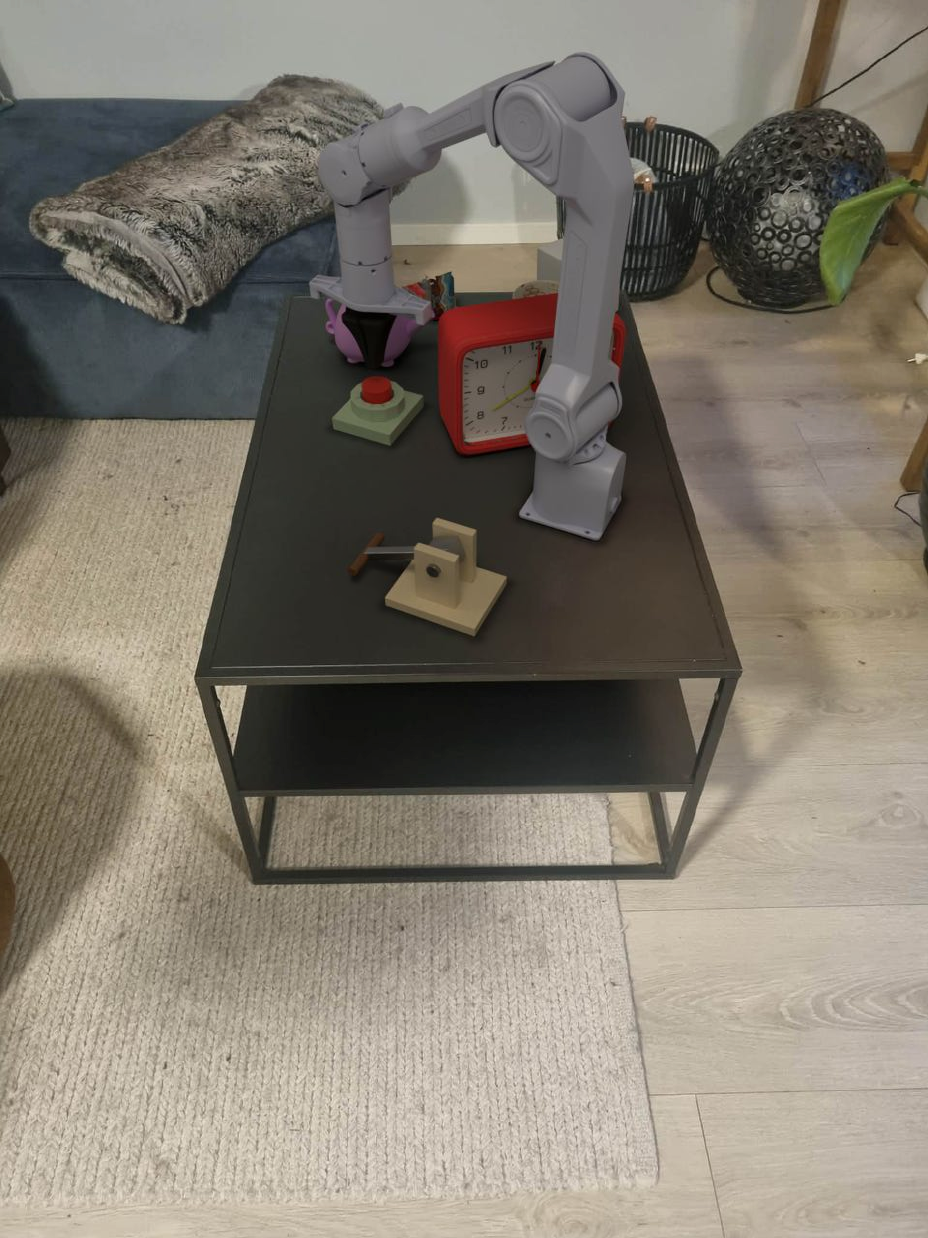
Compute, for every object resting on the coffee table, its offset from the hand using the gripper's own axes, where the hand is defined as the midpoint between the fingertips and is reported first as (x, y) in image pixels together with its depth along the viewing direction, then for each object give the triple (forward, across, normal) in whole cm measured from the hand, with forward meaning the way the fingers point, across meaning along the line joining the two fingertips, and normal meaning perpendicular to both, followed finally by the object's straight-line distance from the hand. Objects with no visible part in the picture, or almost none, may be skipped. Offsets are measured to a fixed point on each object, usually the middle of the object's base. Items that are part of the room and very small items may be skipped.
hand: (375, 363), depth 111 cm
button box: (+8, 0, 0) cm, 8 cm away
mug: (+8, -15, -18) cm, 25 cm away
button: (+5, 0, 0) cm, 5 cm away
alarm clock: (+8, -17, -6) cm, 20 cm away
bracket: (+8, -21, +24) cm, 33 cm away
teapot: (+8, +7, -13) cm, 17 cm away
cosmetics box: (+8, -14, -34) cm, 37 cm away
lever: (+5, -17, +24) cm, 30 cm away
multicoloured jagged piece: (+4, +9, -26) cm, 28 cm away
